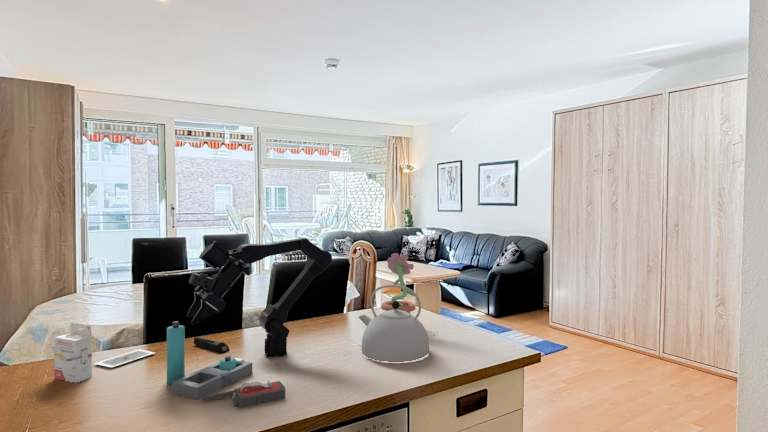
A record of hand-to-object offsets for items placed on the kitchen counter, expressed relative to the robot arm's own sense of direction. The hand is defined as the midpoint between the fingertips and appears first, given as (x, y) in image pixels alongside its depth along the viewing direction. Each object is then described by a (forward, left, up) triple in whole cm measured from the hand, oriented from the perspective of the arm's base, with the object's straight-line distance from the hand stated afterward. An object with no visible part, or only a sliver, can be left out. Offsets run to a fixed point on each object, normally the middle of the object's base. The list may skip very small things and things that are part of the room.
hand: (189, 320), depth 134 cm
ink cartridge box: (+30, +1, -14) cm, 33 cm away
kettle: (-63, 0, -14) cm, 64 cm away
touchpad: (+20, -12, -15) cm, 27 cm away
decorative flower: (-74, -28, -14) cm, 81 cm away
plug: (+2, +11, -14) cm, 18 cm away
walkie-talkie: (-16, +27, -15) cm, 35 cm away
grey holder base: (-8, +14, -14) cm, 21 cm away
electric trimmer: (-4, -18, -14) cm, 23 cm away
